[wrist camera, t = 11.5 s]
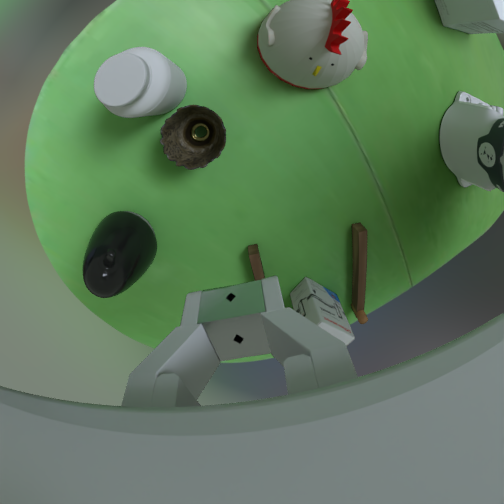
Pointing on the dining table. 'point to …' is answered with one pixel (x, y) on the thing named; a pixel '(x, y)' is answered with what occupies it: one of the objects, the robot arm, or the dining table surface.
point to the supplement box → (472, 15)
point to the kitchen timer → (312, 42)
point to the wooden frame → (358, 269)
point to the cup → (193, 137)
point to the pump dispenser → (118, 253)
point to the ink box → (321, 309)
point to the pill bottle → (139, 83)
